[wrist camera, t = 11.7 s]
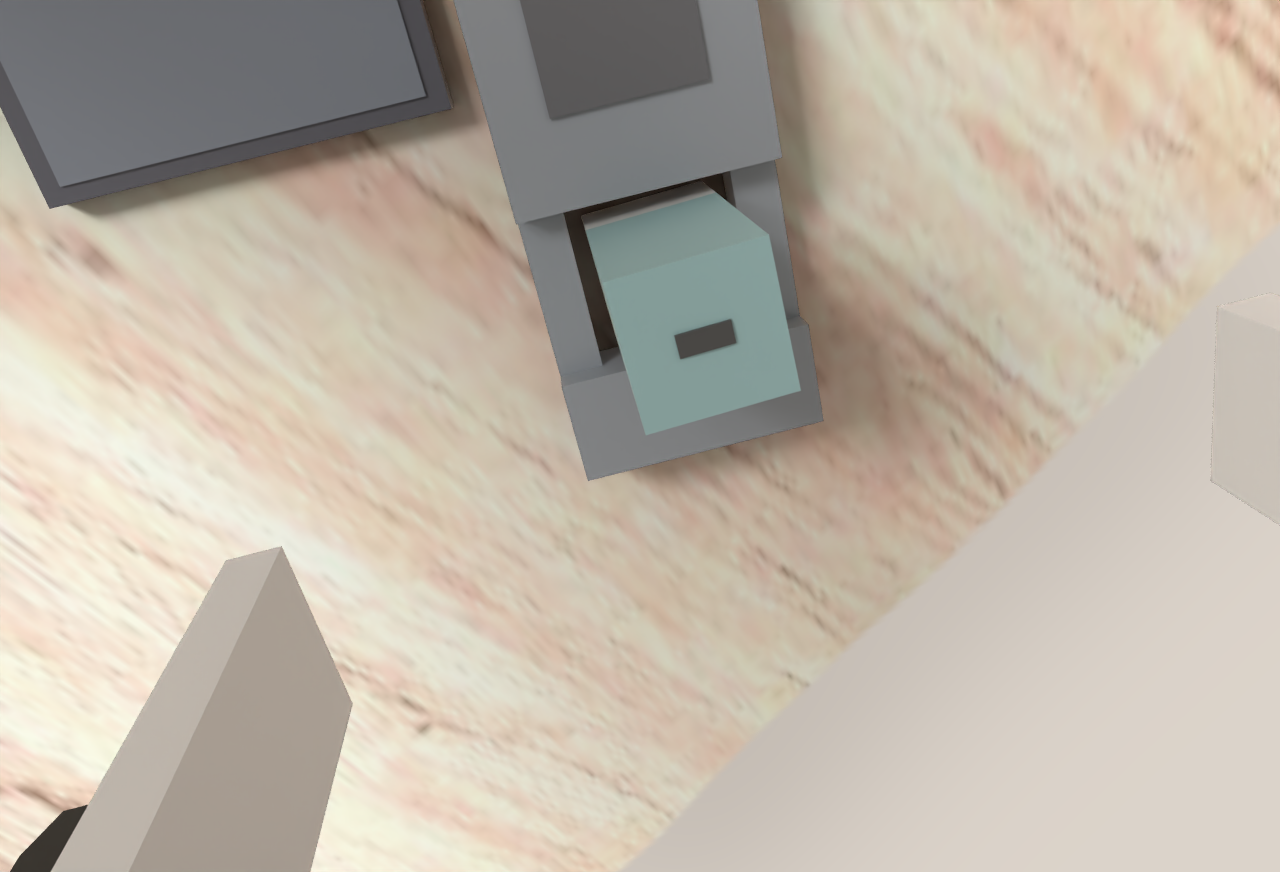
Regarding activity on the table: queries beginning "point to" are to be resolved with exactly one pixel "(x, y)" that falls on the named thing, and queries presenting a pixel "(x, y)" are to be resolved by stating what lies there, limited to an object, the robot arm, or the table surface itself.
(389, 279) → the table surface
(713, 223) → the teal rectangular block
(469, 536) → the table surface
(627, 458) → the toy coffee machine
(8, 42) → the phone
